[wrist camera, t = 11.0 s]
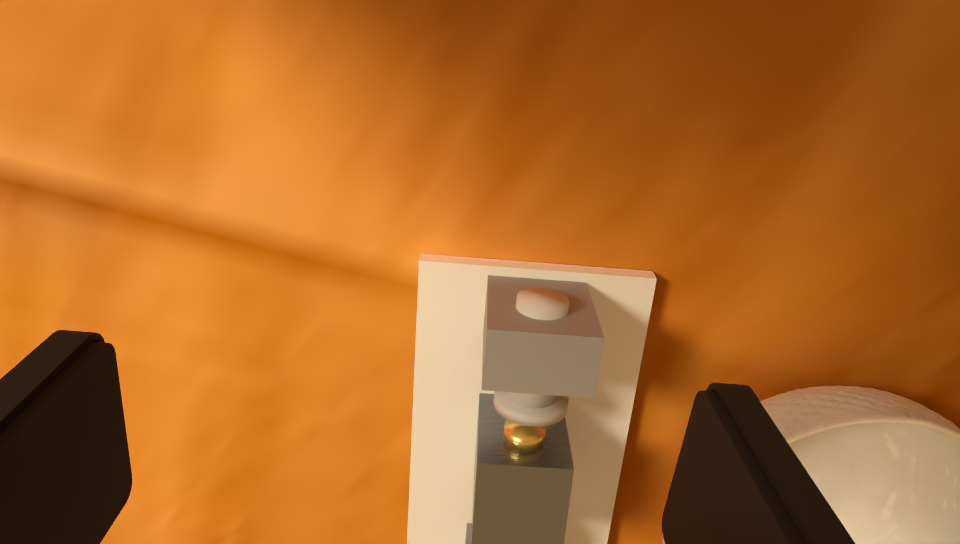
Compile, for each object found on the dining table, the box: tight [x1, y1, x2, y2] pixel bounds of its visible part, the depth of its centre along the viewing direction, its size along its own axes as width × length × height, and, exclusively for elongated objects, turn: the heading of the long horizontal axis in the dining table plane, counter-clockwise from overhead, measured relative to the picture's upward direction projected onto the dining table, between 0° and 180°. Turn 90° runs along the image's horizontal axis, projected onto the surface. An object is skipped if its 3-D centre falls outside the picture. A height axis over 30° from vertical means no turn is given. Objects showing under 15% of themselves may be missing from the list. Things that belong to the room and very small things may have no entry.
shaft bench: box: [407, 254, 657, 544], centre depth 36 cm, size 12×20×7 cm, turn 176°
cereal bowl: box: [662, 385, 960, 544], centre depth 37 cm, size 17×17×7 cm
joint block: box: [471, 393, 574, 544], centre depth 35 cm, size 7×4×6 cm
